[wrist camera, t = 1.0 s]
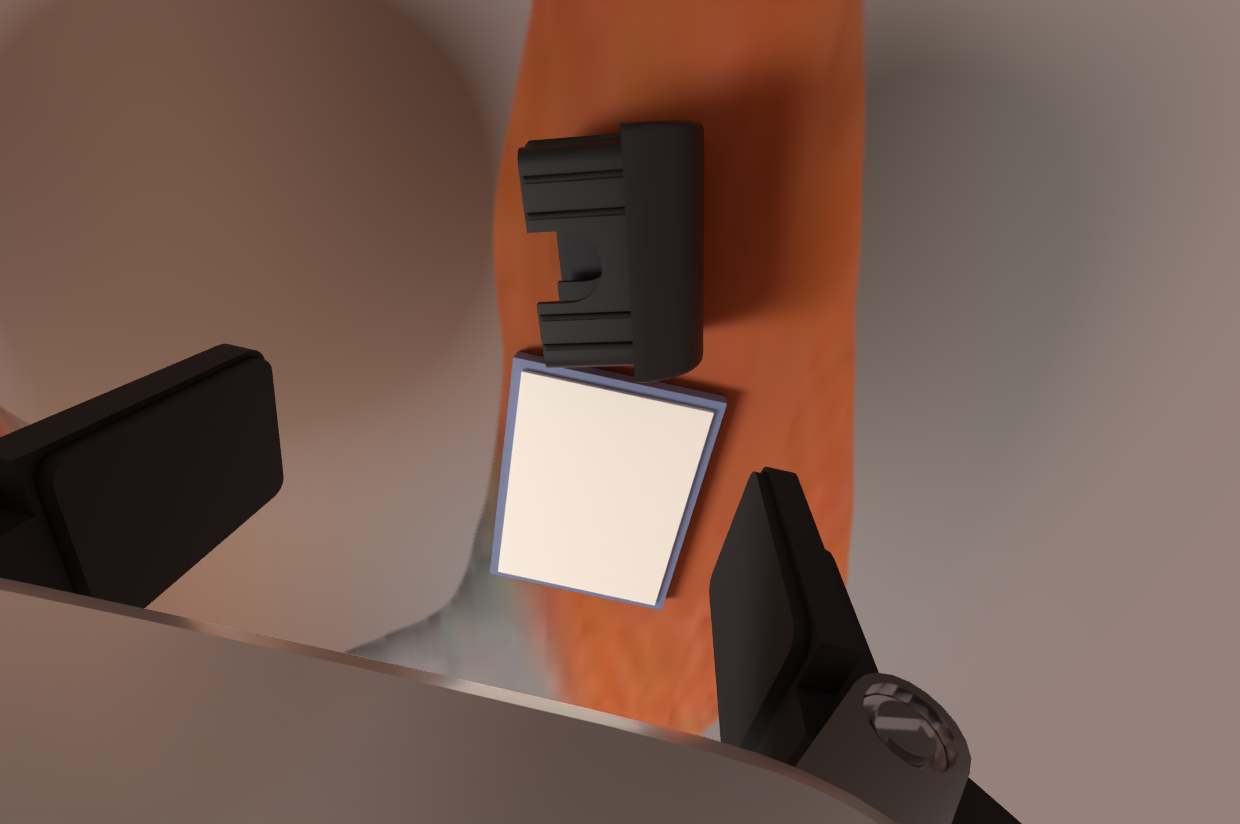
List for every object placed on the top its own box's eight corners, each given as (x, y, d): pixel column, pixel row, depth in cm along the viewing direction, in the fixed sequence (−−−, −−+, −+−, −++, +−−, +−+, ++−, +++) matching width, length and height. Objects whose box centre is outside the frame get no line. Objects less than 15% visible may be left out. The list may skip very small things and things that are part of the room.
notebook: (518, 351, 30) (512, 359, 28) (725, 396, 30) (727, 405, 28) (494, 563, 37) (488, 576, 36) (661, 599, 37) (661, 613, 36)
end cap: (699, 335, 28) (706, 383, 22) (571, 340, 29) (544, 387, 23) (699, 126, 24) (708, 115, 18) (548, 138, 25) (508, 131, 19)
